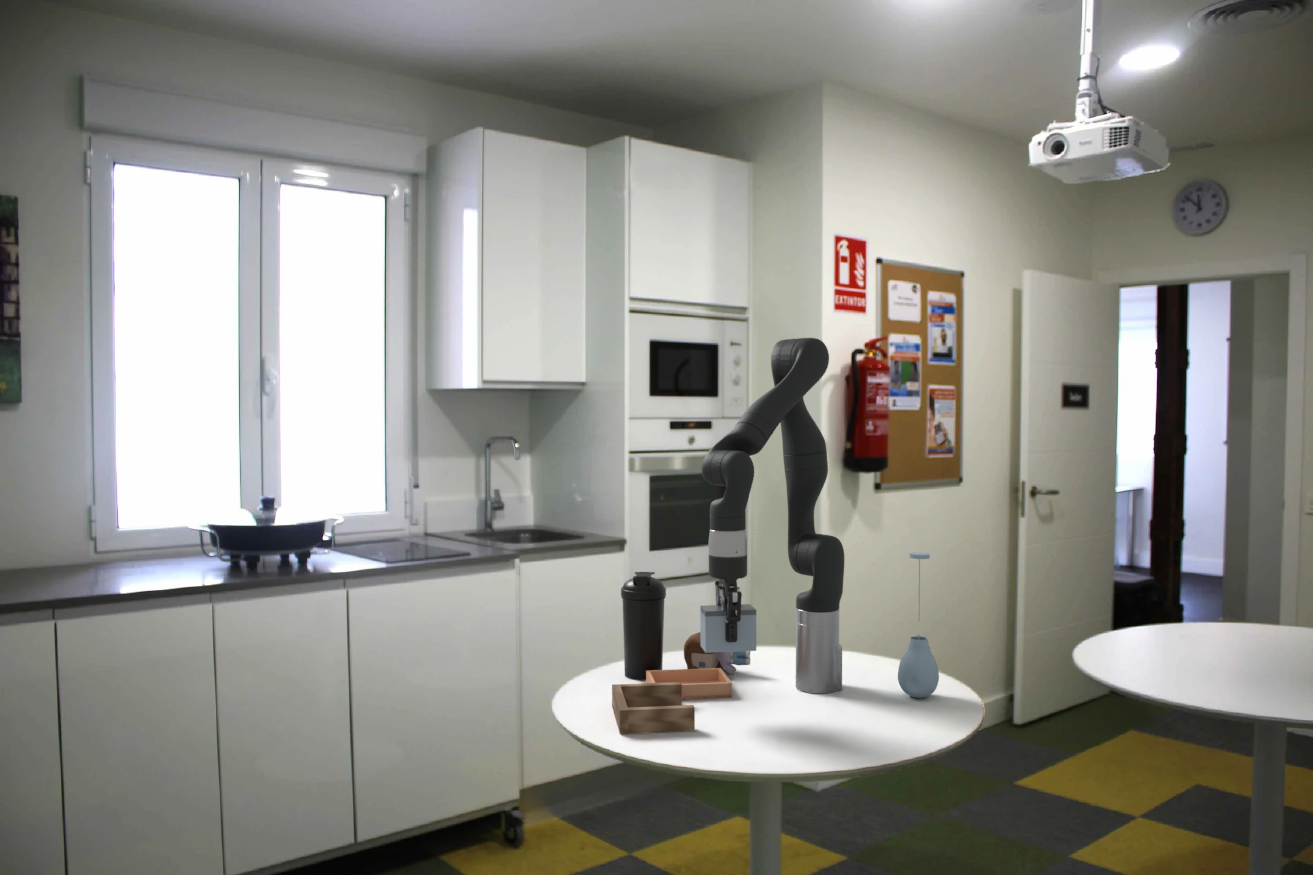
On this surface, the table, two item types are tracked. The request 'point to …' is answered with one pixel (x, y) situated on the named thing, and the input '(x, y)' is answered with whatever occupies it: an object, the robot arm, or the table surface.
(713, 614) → the grey rectangular prism
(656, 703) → the bay
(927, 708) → the table surface
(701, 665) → the toy
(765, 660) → the table surface
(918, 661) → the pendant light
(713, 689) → the tray
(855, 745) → the table surface
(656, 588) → the water bottle
